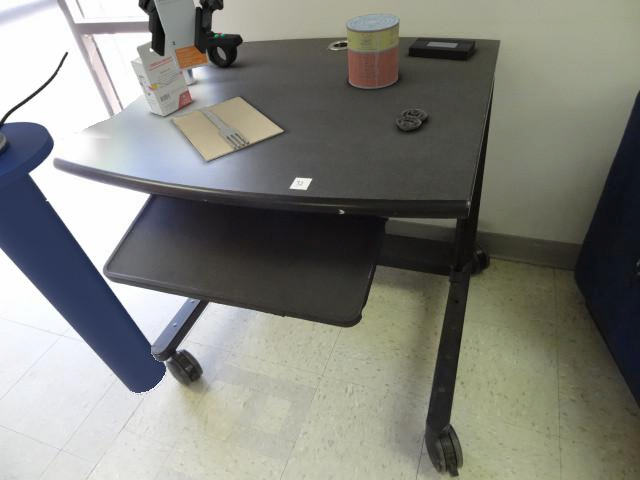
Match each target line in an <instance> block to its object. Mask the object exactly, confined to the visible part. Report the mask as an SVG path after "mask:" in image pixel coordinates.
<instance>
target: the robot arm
mask: <svg viewBox="0 0 640 480" xmlns="http://www.w3.org/2000/svg"><path fill="white" fill-rule="evenodd" d="M198 4H199V5H200V6H195V9H196V14H195V37H194V46H195V47H196V48H197V49H198V50H199V51H200V52H201V53H202V54H206V42H207V32H210V31H212V27H213V25H212V24H213V14H214V12H215V11H217V10H218V11H222V10H224V8H225V3H224V0H198ZM137 5H138V7H139V8H140V9H141V10H142V11H143V12H144V13H145V14H146V15H147V16H148V27H147V29H148V32H150V34H151V41H152V43H151V48H150V49H151V50H152V51H155V52H156V53H157V54H158V55H160V56H164V55H165V36H166V35H165V32H164V29H163V26H162V23H161V20H160V17H159V14H158V11H157V8H156V5H155V2H154V0H138V3H137ZM68 55H69V51H65V53H64V54H63V56H62V58H61V59H60V62H59V64H58V65H57V67H56V69H55V71H54V72H53V73H52V75H51V76H50V77H49V78H48V79H47V80H46V81H45V82H44V83H43V84H42V85H41V86H40V87H38V88H37V89H36V90H34V92H32V93H31V94H30V95H28V96H27V97H26V98H24V99H23V100H21V101H20V102H19V103H17V104H16V105H13V107H12V108H10V109H9V110H7V112H6V113H5V114H4V115H3V117H2V118H1V120H0V127H1V126H2V125H3V124H4V123H6V121H7V120H8V118H9V117H10V116H11V115H12V114H13V113H14V112H16V111H17V110H18V109H20V108H21V107H23V106H24V105H26V104H27V103H28V102H30V101H31V100H32V99H33V98H35V97H36V96H37V95H39V93H41V92H42V91H43V90H44V89H45V88H46V87H48V86H49V85H50V83H52V82H53V80H54V79H55V78H56V76H57V75H58V72H59V71H60V70H61V68H62V67H63V65H64V62H65V60H66V59H67V57H68ZM8 147H9V142H8V140H7V139H6V137H5V136H4V135H3V134H2V133H1V132H0V156H1V155H2V154H3V153H4V152H5V151H6V150H7V149H8Z"/></svg>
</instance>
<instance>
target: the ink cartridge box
mask: <svg viewBox="0 0 640 480" xmlns="http://www.w3.org/2000/svg"><path fill="white" fill-rule="evenodd" d="M151 43H152V40H151V41H148V42H146V43H143V44H141V45H138V46H136V52H137V53H138V55H139V56H138V57H135V58H133V59H130V60H129V62H130V64H131V67H132V70H133V71H134V74H135V77H136V79H137V81H138V83H139V85H140V88H141V90H142V93H143V95H144V97H145V100H146V103H147V104H148V106H149V109H150V111H151V114H155V115H159V116H162V117H166V116H168V115H169V114H171V113H174V112H175V111H178V110H179V109H181V108H183V107H184V106H187V105H189V104H190V103H192V102H193V98H192V95H191V92H190V89H189V85H187V83H186V80H185V77H184V74H183V72H182V71H181V72H178V70H177V67H176V65H175V62H174V59H173V56H172V53H171V50H170V47H169V44H168V41H167V38H166V35H165V55H164V56H160V55H158V54H157V53H156V52H155V51H154V50H152V51H150V49H151Z"/></svg>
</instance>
